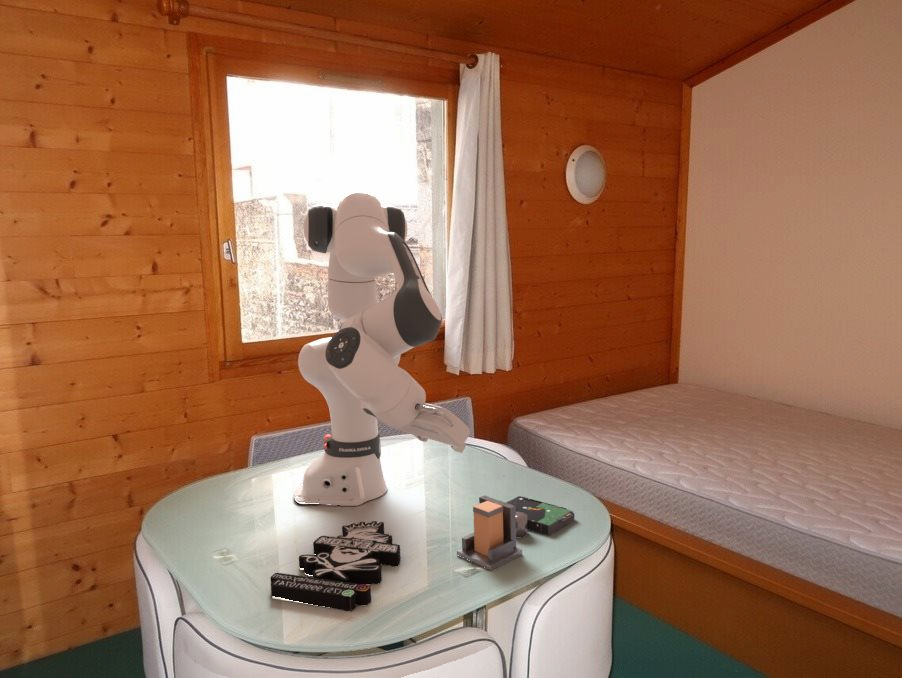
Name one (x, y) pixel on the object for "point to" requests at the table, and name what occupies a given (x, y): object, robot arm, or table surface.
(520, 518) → the link stub
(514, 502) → the disk drive
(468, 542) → the keeper
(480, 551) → the orange tall block
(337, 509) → the table surface
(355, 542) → the sign
